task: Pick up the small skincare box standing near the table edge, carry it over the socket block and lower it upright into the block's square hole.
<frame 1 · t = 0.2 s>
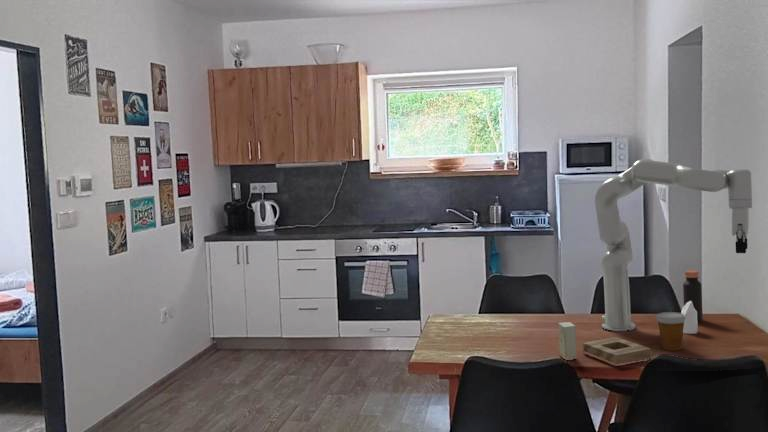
hand: (741, 250, 260), 31 cm above the table, tool pointing down, fingers open, 9 cm apart
skincare box: (568, 358, 251), on the table
disposable coffee cup: (671, 348, 253), on the table
white house shaped block: (689, 332, 272), on the table
socket block: (616, 357, 248), on the table
bottle: (693, 321, 288), on the table
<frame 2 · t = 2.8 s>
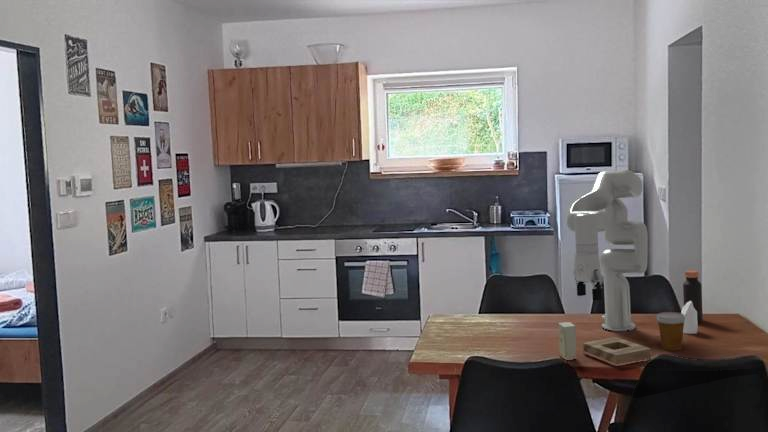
hand: (589, 297, 250), 21 cm above the table, tool pointing down, fingers open, 9 cm apart
nothing on the table moved.
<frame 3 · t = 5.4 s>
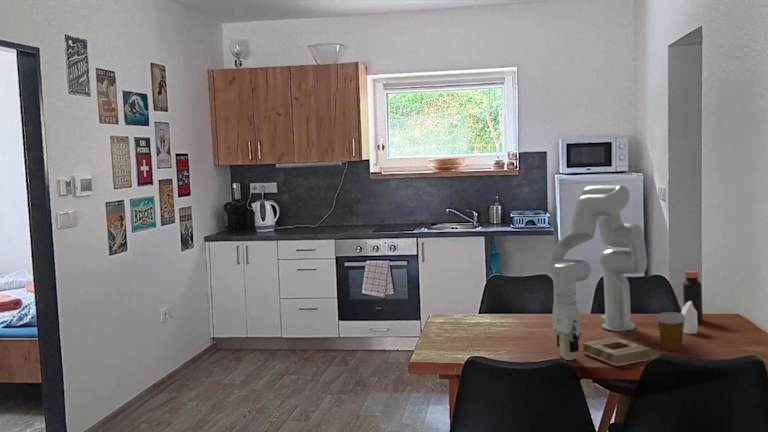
hand: (567, 348, 250), 3 cm above the table, tool pointing down, fingers closed on skincare box, 6 cm apart
skincare box: (568, 358, 251), on the table, touching gripper
everything else where it was.
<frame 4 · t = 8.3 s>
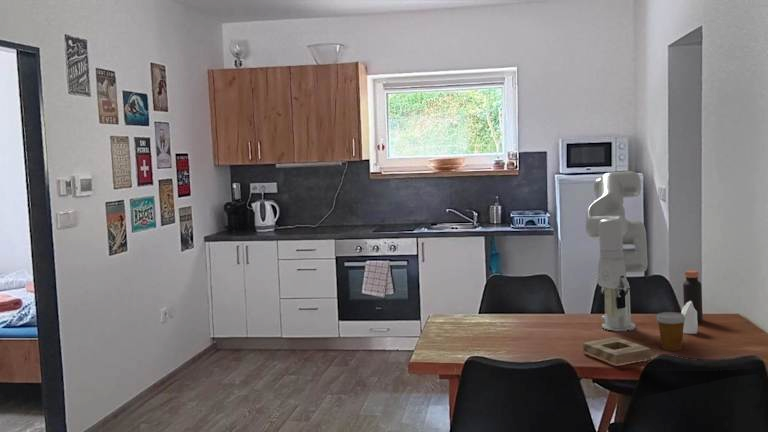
hand: (614, 305, 246), 18 cm above the table, tool pointing down, fingers closed on skincare box, 6 cm apart
skincare box: (614, 315, 247), point 14 cm above the table, touching gripper
everything else where it was.
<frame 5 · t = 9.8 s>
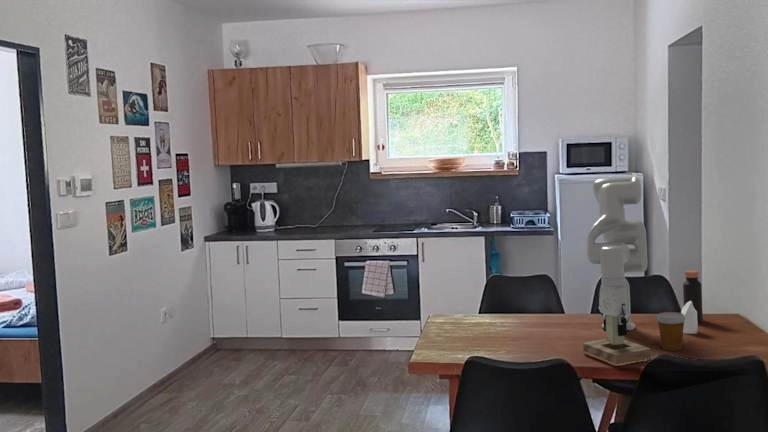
hand: (615, 332, 247), 9 cm above the table, tool pointing down, fingers closed on skincare box, 6 cm apart
skincare box: (615, 342, 247), point 5 cm above the table, touching gripper
everything else where it was.
when the fingers open (6 cm above the table, at t = 11.0 s): skincare box drops 2 cm, resting in socket block.
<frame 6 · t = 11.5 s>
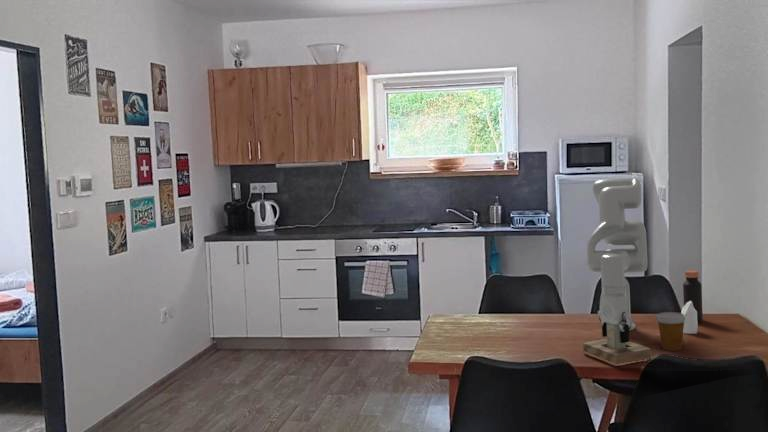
hand: (615, 339, 247), 6 cm above the table, tool pointing down, fingers open, 9 cm apart
skincare box: (617, 357, 248), resting in socket block
everything else where it was.
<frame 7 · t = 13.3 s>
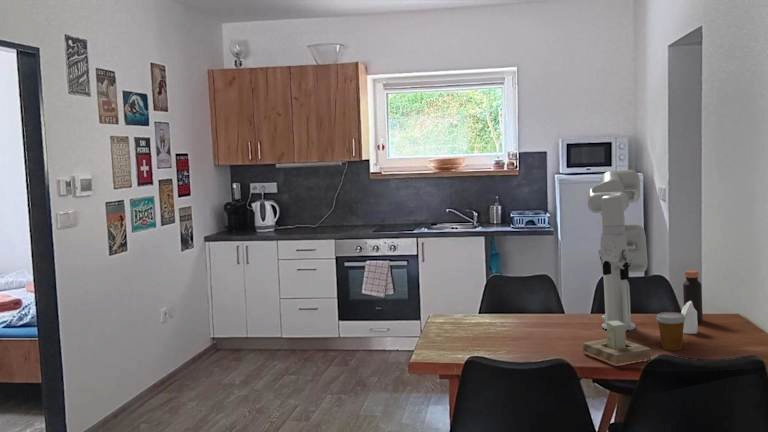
hand: (615, 276, 257), 26 cm above the table, tool pointing down, fingers open, 9 cm apart
nothing on the table moved.
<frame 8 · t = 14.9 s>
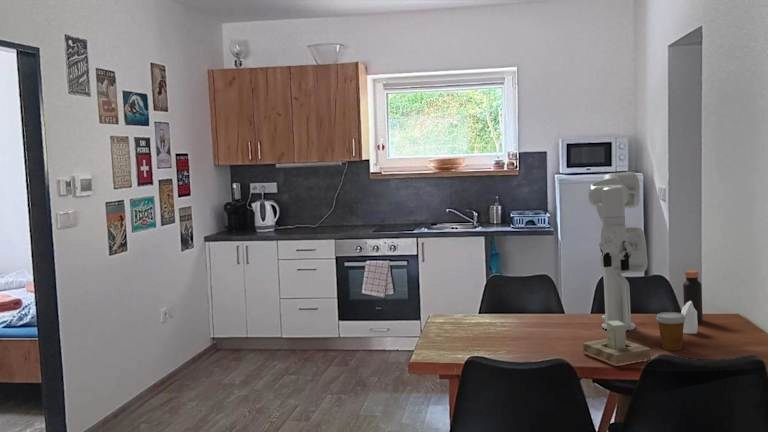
hand: (616, 268, 259), 28 cm above the table, tool pointing down, fingers open, 9 cm apart
nothing on the table moved.
at the end: skincare box 0.2 cm off-centre on the socket block, point 0.0 cm above the socket block's base; skincare box tilted 0°; the gripper is holding nothing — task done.
